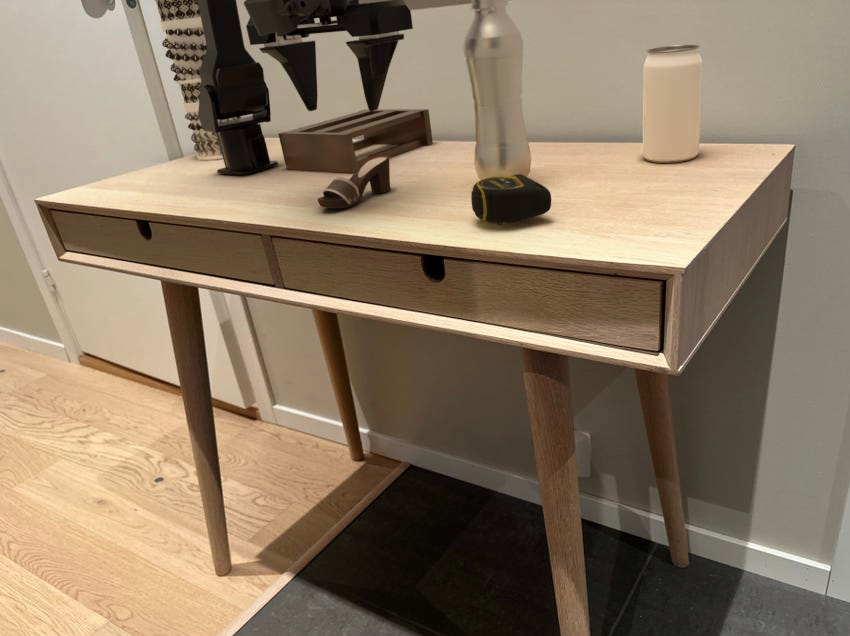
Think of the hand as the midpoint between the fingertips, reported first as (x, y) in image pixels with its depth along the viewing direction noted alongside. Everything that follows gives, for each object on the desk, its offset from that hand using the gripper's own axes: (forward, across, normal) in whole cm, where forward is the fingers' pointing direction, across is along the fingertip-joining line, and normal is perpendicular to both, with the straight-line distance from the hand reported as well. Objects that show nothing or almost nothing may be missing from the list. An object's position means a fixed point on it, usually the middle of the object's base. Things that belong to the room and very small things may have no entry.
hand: (342, 110), depth 77 cm
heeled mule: (+10, 0, 0) cm, 10 cm away
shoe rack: (+10, -17, +19) cm, 27 cm away
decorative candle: (+10, -46, +17) cm, 50 cm away
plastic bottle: (+10, +14, +10) cm, 20 cm away
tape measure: (+10, +22, -2) cm, 24 cm away
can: (+10, +28, +24) cm, 39 cm away
